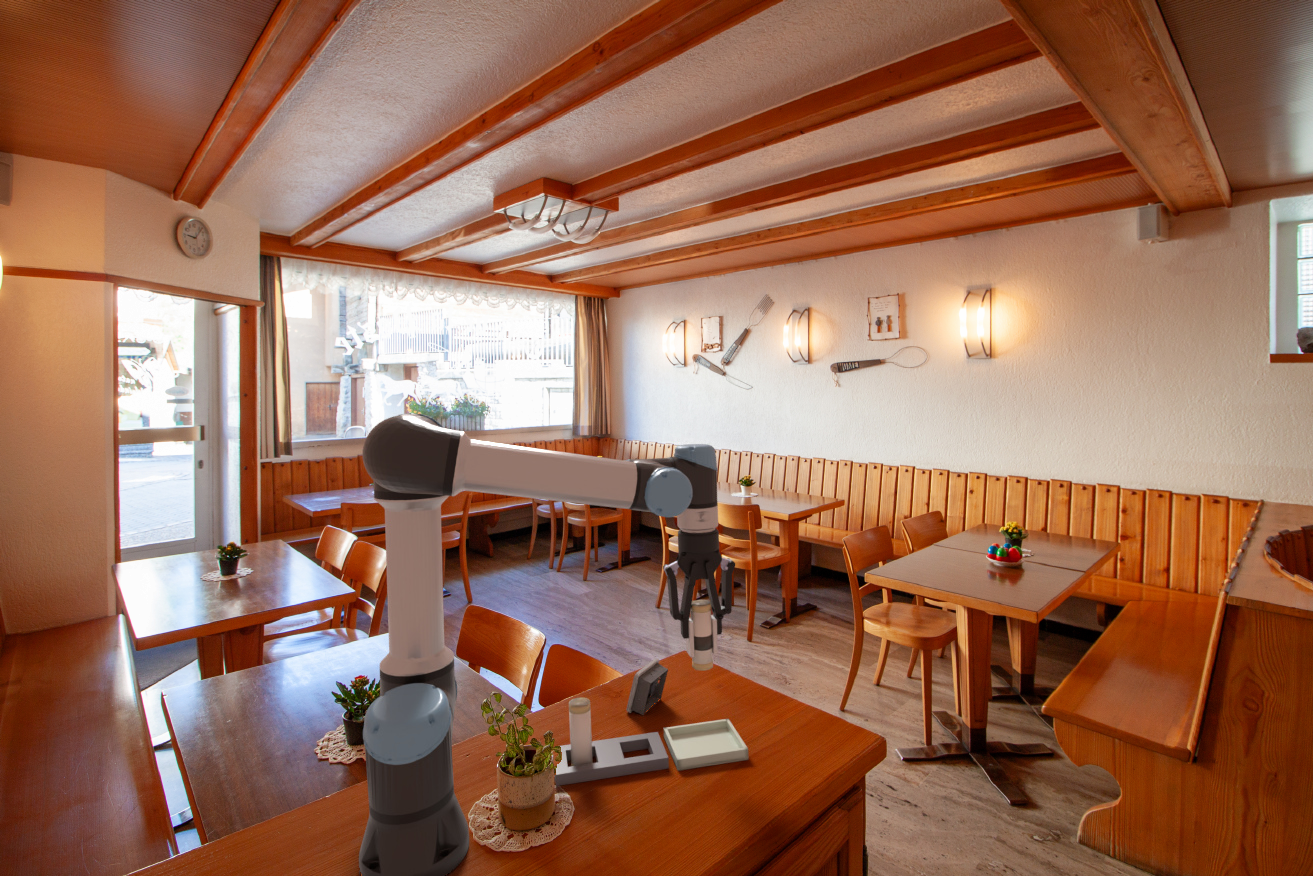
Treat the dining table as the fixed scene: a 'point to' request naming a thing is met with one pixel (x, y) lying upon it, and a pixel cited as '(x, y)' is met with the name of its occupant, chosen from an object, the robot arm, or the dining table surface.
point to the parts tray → (705, 744)
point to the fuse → (580, 731)
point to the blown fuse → (702, 635)
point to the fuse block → (614, 759)
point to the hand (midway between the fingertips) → (702, 652)
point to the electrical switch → (647, 687)
